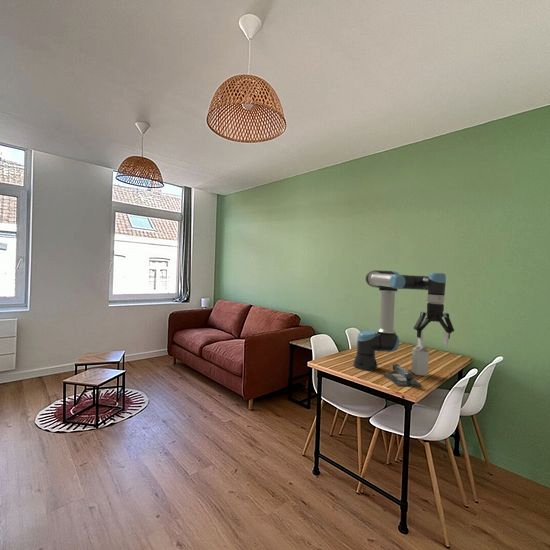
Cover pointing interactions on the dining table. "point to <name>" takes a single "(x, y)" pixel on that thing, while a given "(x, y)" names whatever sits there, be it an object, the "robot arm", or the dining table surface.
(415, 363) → the milk carton
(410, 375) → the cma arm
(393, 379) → the plate
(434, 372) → the dining table surface
